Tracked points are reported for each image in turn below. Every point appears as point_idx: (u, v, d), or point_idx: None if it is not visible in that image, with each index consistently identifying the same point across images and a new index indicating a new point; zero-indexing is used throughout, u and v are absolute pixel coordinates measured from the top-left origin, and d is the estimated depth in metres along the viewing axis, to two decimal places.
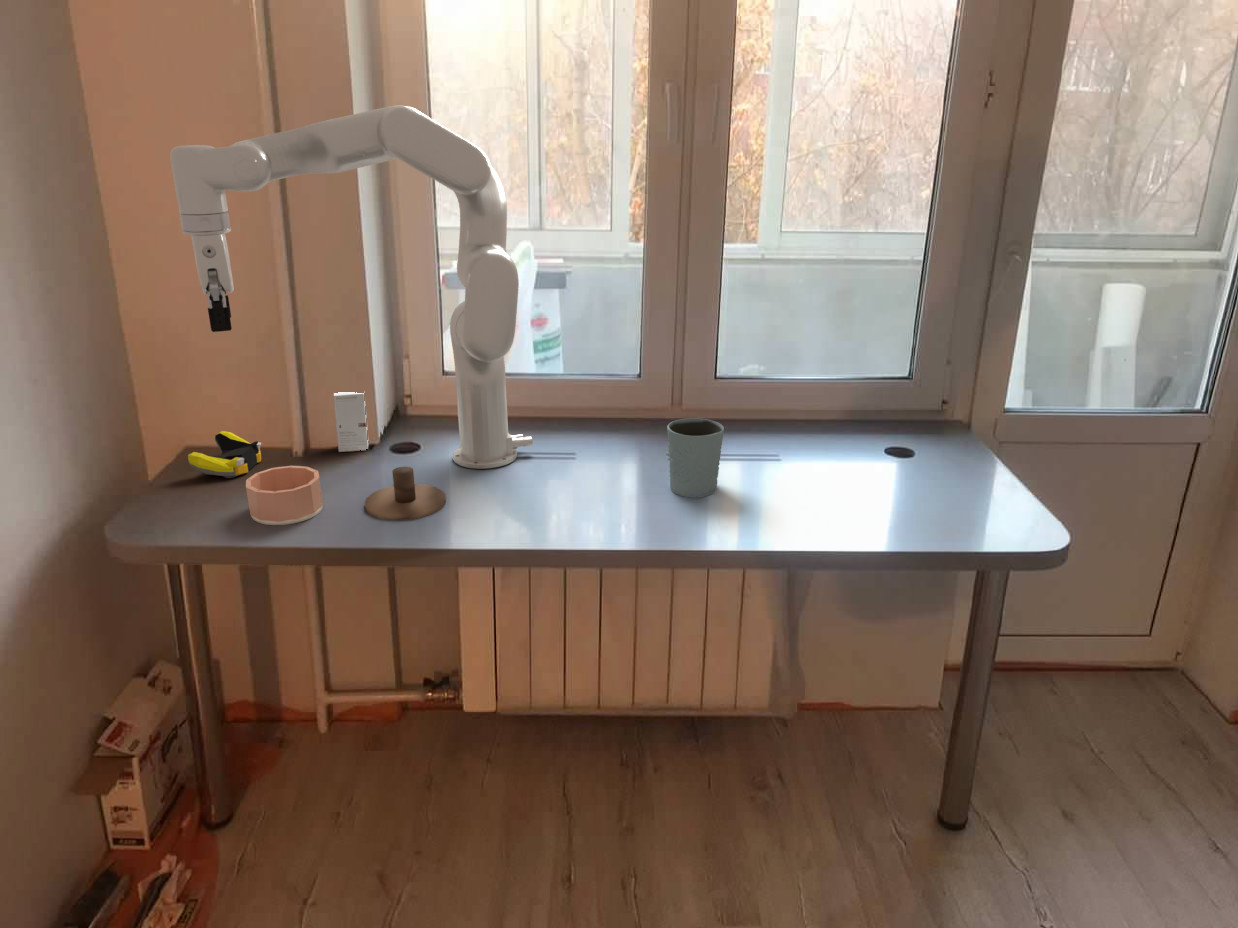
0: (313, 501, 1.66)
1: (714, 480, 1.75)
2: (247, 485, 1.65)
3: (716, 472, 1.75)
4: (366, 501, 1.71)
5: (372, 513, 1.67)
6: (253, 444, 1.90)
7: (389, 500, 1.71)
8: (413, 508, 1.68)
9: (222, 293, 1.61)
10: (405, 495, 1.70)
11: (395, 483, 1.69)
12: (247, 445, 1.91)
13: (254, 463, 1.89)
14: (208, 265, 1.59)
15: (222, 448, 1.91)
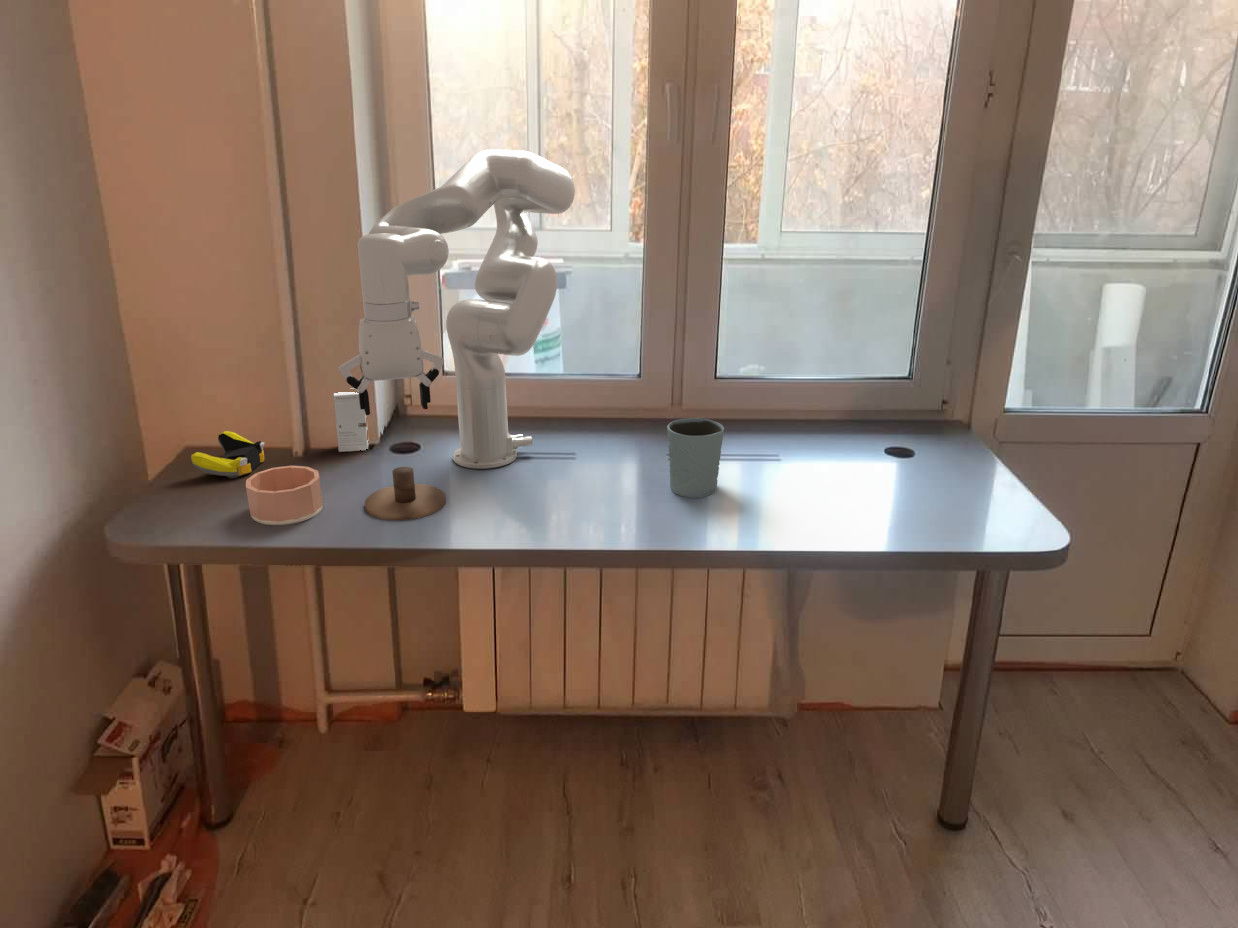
0: (313, 501, 1.66)
1: (714, 480, 1.75)
2: (247, 485, 1.65)
3: (716, 472, 1.75)
4: (366, 501, 1.71)
5: (372, 513, 1.67)
6: (256, 444, 1.90)
7: (389, 500, 1.71)
8: (413, 508, 1.68)
9: None
10: (405, 495, 1.70)
11: (395, 483, 1.69)
12: (250, 445, 1.91)
13: (257, 463, 1.88)
14: None
15: (225, 448, 1.91)
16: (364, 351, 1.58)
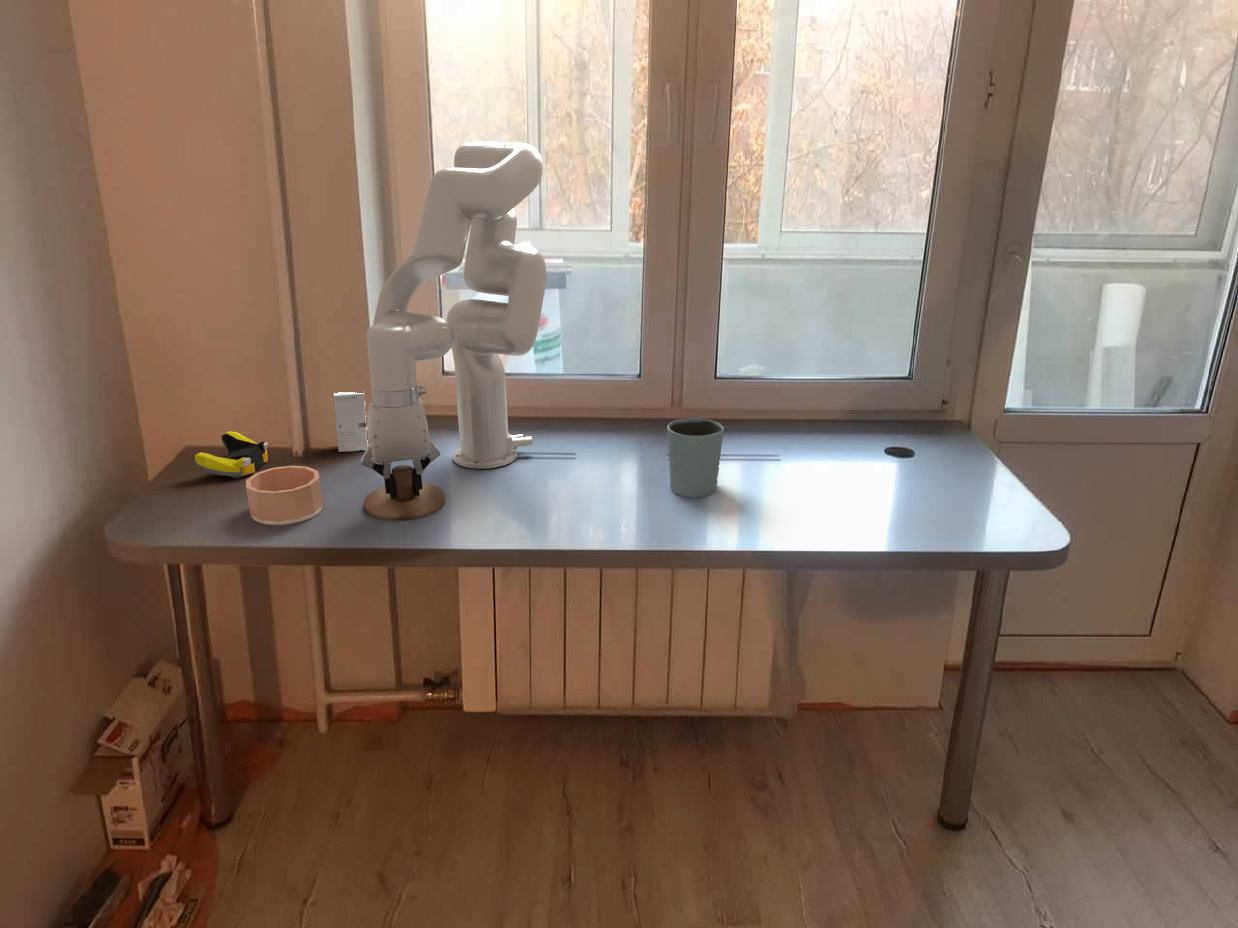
0: (313, 501, 1.66)
1: (714, 480, 1.75)
2: (247, 485, 1.65)
3: (716, 472, 1.75)
4: (365, 500, 1.71)
5: (372, 512, 1.67)
6: (259, 444, 1.90)
7: (388, 498, 1.71)
8: (412, 507, 1.68)
9: None
10: (404, 493, 1.69)
11: (394, 482, 1.69)
12: (254, 445, 1.91)
13: (260, 463, 1.88)
14: None
15: (229, 448, 1.91)
16: (373, 435, 1.64)
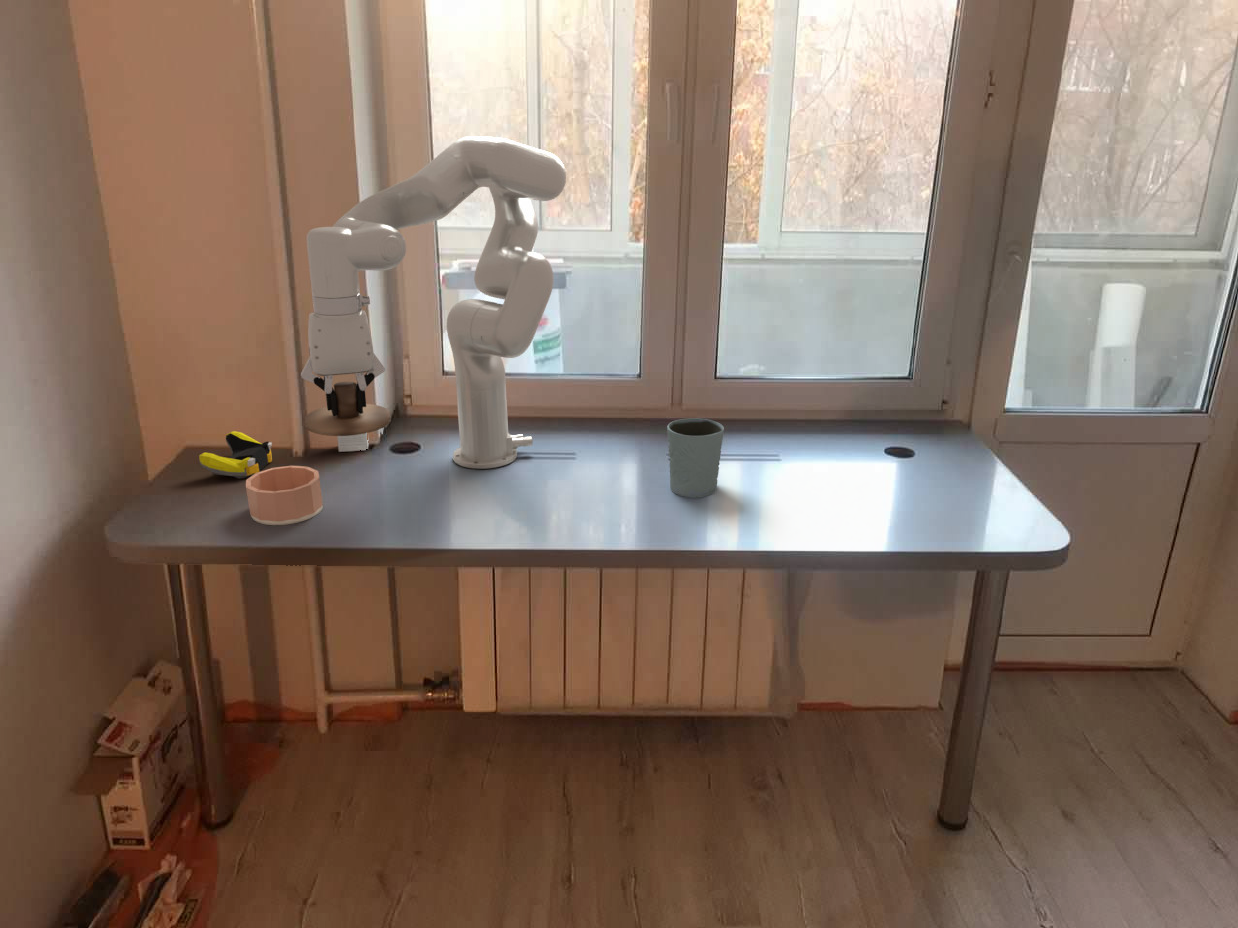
0: (313, 501, 1.66)
1: (714, 480, 1.75)
2: (247, 485, 1.65)
3: (716, 472, 1.75)
4: (306, 417, 1.63)
5: (312, 427, 1.59)
6: (263, 444, 1.90)
7: (330, 416, 1.64)
8: (355, 423, 1.61)
9: None
10: (347, 410, 1.62)
11: (337, 397, 1.62)
12: (258, 445, 1.91)
13: (265, 463, 1.88)
14: None
15: (233, 448, 1.91)
16: (313, 346, 1.57)
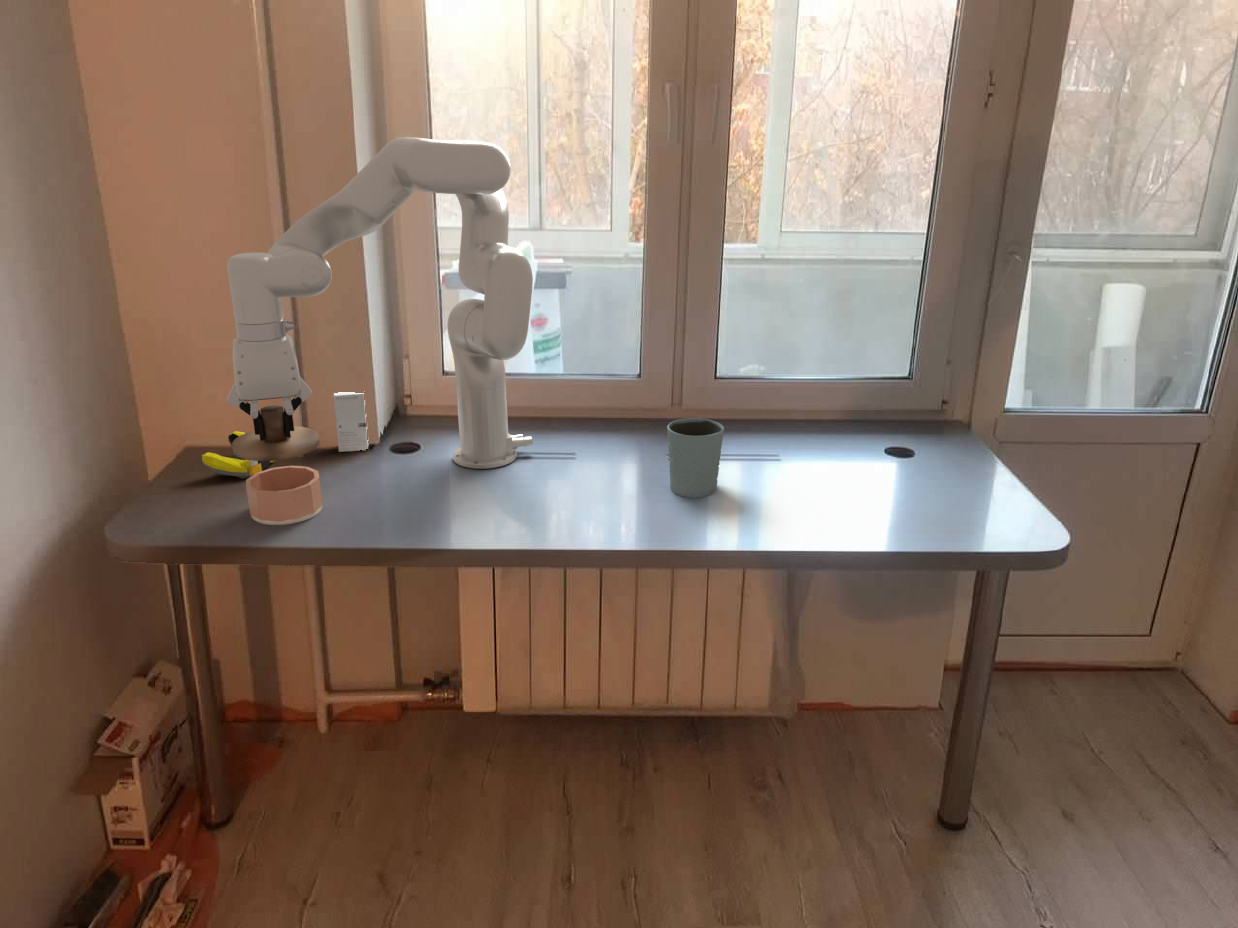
0: (313, 501, 1.66)
1: (714, 480, 1.75)
2: (247, 485, 1.65)
3: (716, 472, 1.75)
4: (234, 441, 1.64)
5: (237, 452, 1.60)
6: None
7: (258, 440, 1.64)
8: (281, 448, 1.61)
9: None
10: (274, 434, 1.62)
11: (263, 422, 1.62)
12: None
13: (267, 463, 1.88)
14: (297, 364, 1.61)
15: None
16: (237, 371, 1.57)
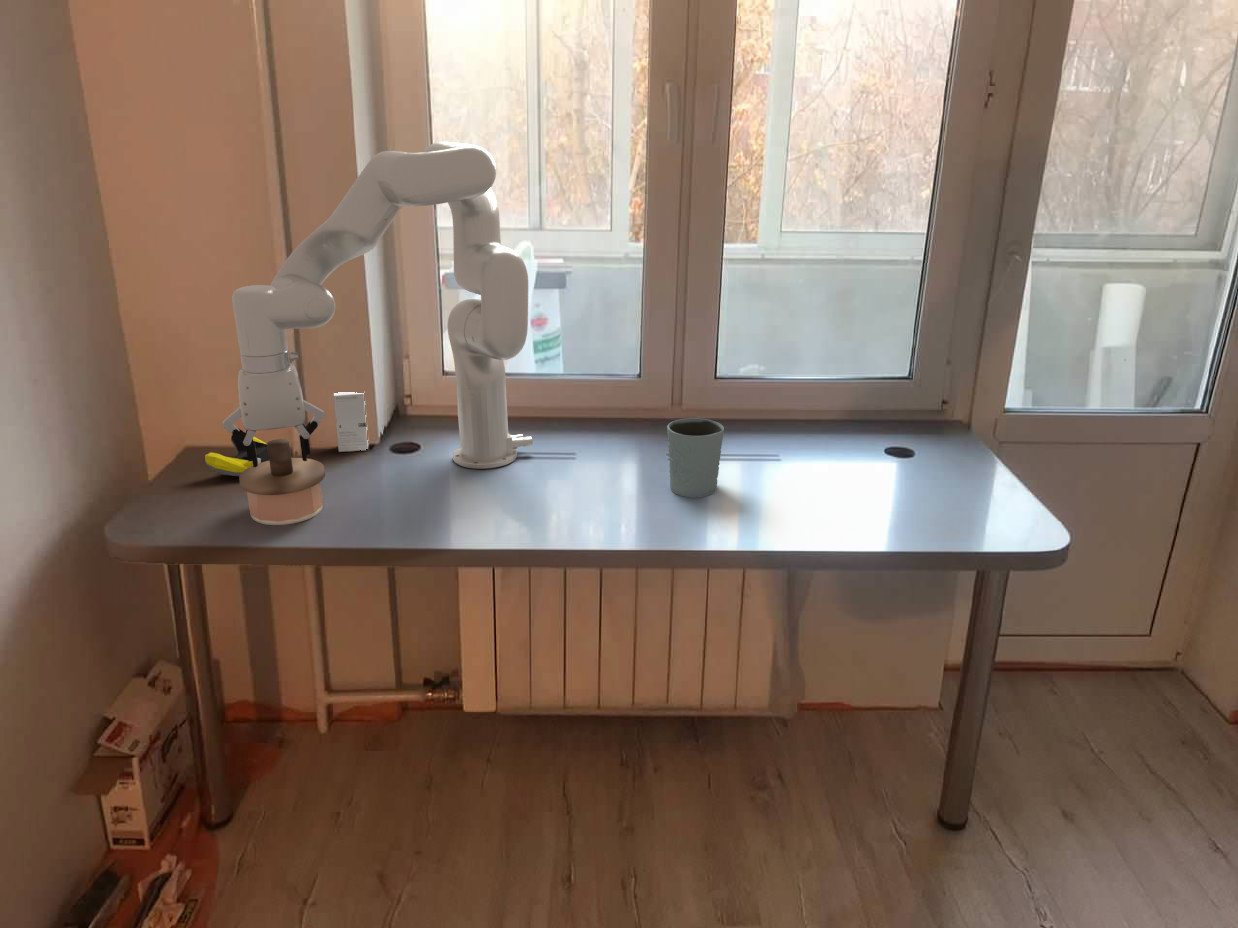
0: (313, 501, 1.66)
1: (714, 480, 1.75)
2: None
3: (716, 472, 1.75)
4: (241, 474, 1.66)
5: (245, 486, 1.62)
6: None
7: (265, 473, 1.66)
8: (287, 481, 1.63)
9: None
10: (280, 468, 1.65)
11: (270, 456, 1.64)
12: (263, 445, 1.91)
13: None
14: None
15: (238, 448, 1.91)
16: (242, 402, 1.59)
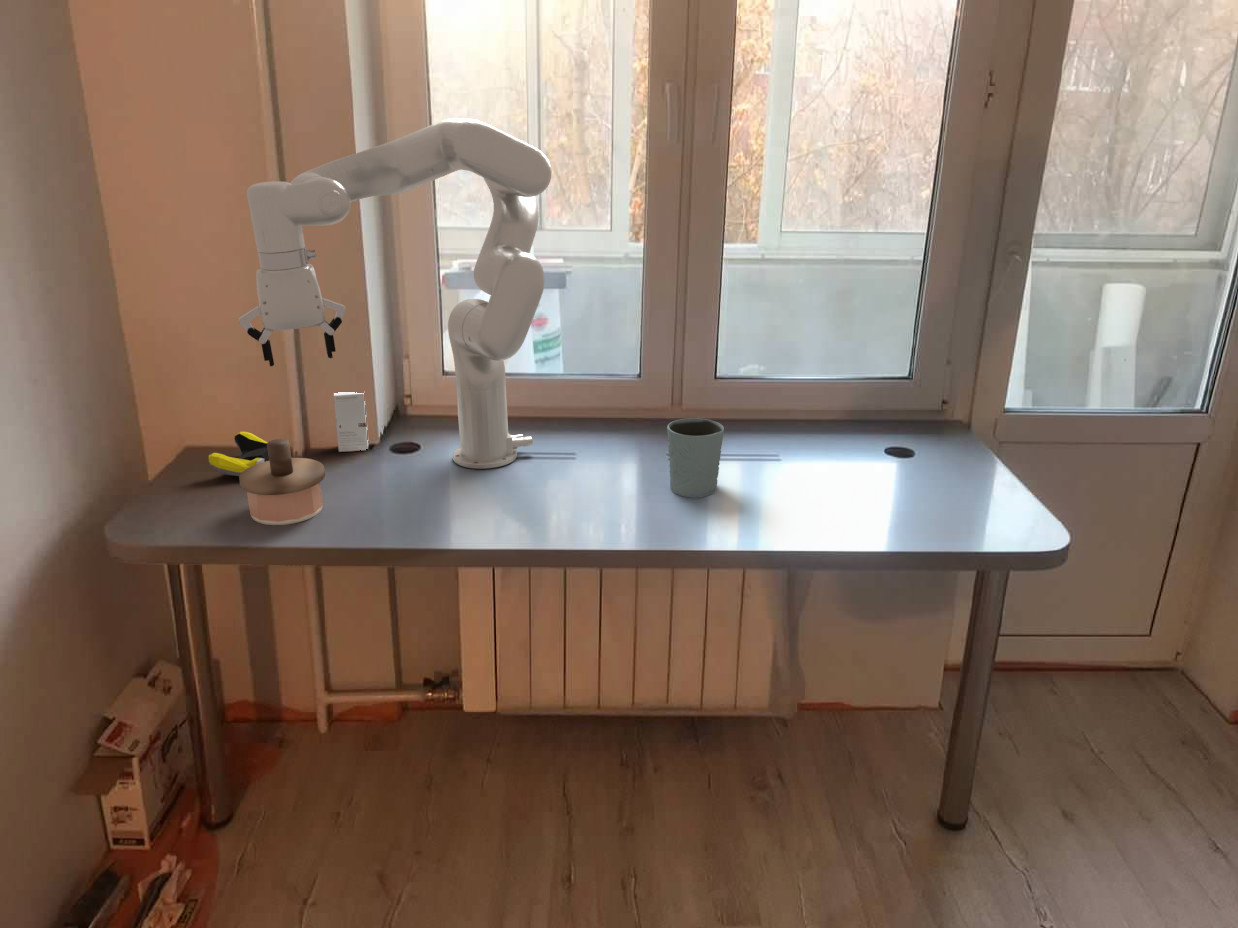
0: (313, 501, 1.66)
1: (714, 480, 1.75)
2: None
3: (716, 472, 1.75)
4: (241, 474, 1.66)
5: (245, 486, 1.62)
6: None
7: (265, 473, 1.66)
8: (287, 481, 1.63)
9: None
10: (280, 468, 1.65)
11: (270, 456, 1.64)
12: None
13: None
14: (320, 293, 1.63)
15: (242, 448, 1.91)
16: (262, 301, 1.58)
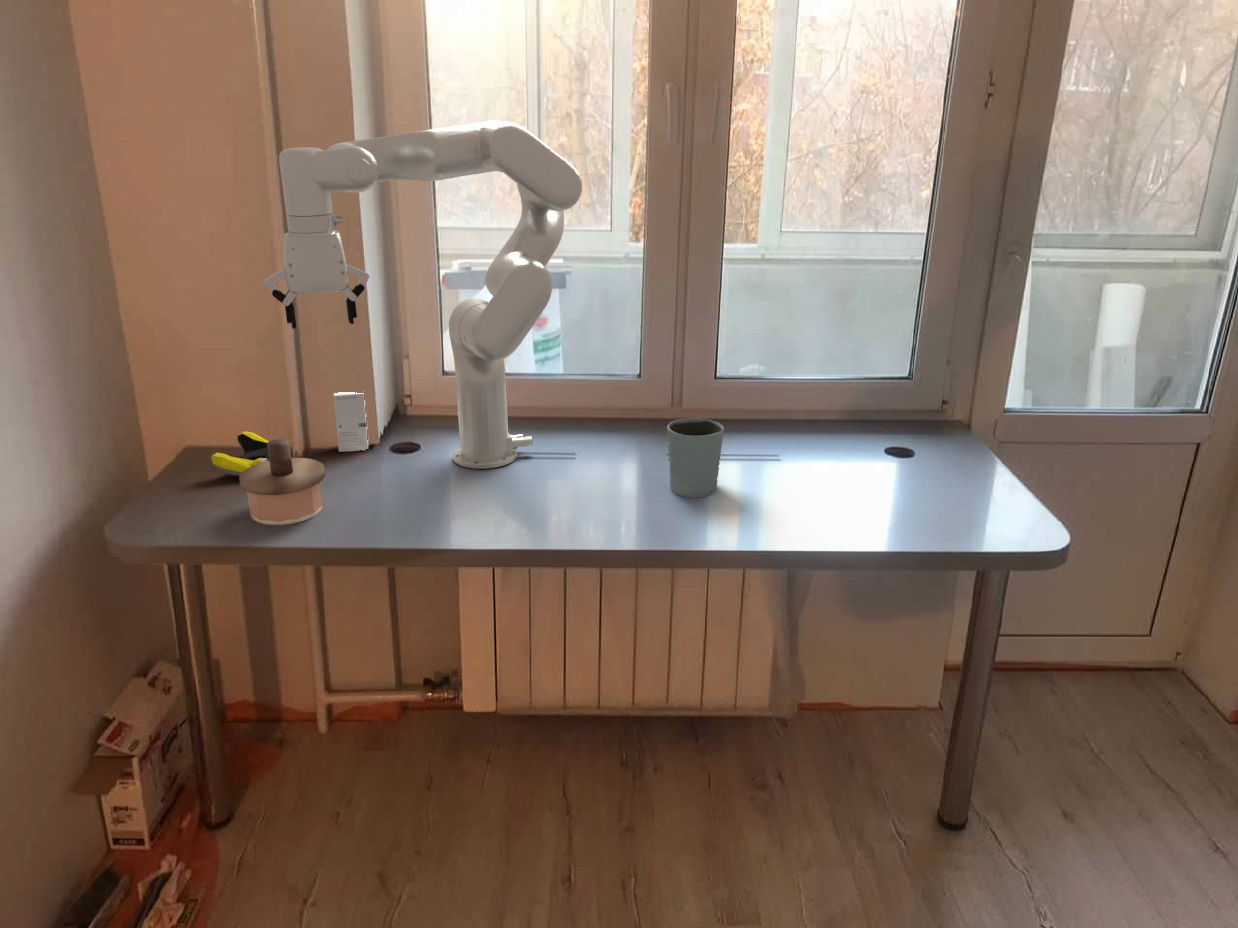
0: (313, 501, 1.66)
1: (714, 480, 1.75)
2: None
3: (716, 472, 1.75)
4: (241, 474, 1.66)
5: (245, 486, 1.62)
6: None
7: (265, 473, 1.66)
8: (287, 481, 1.63)
9: None
10: (280, 468, 1.65)
11: (270, 456, 1.64)
12: None
13: None
14: None
15: (244, 448, 1.91)
16: (288, 264, 1.62)
